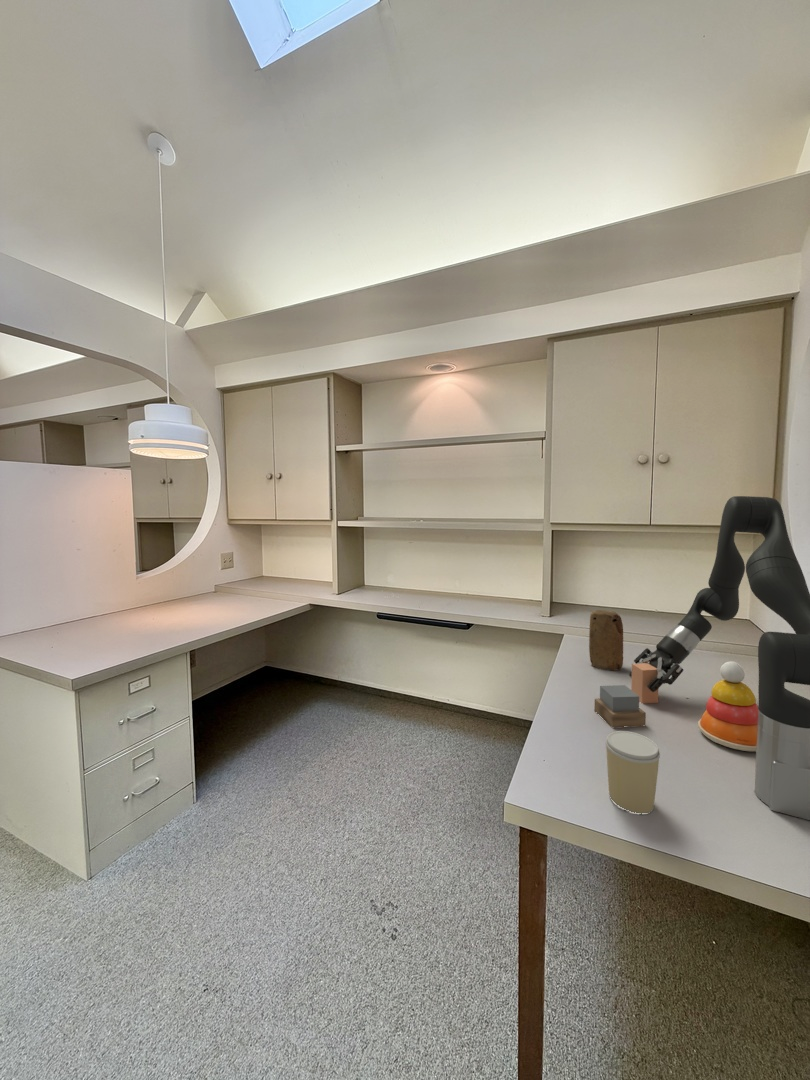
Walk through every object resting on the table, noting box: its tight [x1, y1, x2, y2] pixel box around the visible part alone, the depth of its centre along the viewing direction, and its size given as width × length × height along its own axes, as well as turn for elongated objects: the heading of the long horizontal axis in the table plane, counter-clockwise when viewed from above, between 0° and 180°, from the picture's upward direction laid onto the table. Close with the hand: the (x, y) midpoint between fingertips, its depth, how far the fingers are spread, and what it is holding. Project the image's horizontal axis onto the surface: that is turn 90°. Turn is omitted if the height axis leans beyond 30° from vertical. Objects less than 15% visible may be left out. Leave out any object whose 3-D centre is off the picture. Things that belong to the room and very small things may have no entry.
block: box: [588, 609, 624, 671], centre depth 148 cm, size 11×8×20 cm
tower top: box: [599, 684, 640, 712], centre depth 113 cm, size 7×7×4 cm
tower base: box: [593, 698, 647, 728], centre depth 113 cm, size 9×9×4 cm
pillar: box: [630, 662, 659, 704], centre depth 123 cm, size 5×5×10 cm
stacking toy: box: [697, 660, 758, 752], centre depth 101 cm, size 14×14×20 cm
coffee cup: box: [605, 730, 661, 814], centre depth 81 cm, size 9×9×12 cm
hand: (640, 683), depth 123 cm, fingers open, 8 cm apart
